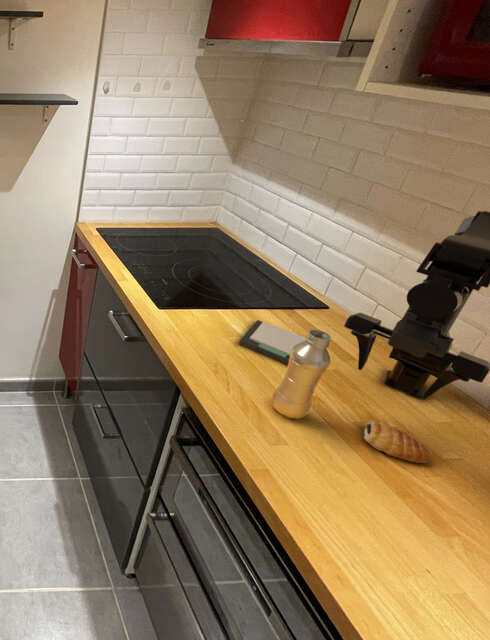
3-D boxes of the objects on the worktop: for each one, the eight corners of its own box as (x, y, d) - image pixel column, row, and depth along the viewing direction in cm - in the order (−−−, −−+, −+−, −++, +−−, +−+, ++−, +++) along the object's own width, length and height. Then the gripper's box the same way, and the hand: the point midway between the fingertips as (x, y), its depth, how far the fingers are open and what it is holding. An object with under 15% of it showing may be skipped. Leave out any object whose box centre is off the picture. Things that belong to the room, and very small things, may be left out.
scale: (256, 323, 125) (258, 317, 124) (316, 347, 116) (319, 341, 115) (238, 344, 116) (240, 338, 115) (302, 371, 107) (305, 365, 106)
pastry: (423, 449, 87) (432, 435, 85) (428, 473, 82) (438, 459, 81) (361, 425, 92) (369, 411, 91) (363, 446, 87) (370, 432, 86)
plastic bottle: (313, 419, 94) (349, 341, 85) (289, 425, 92) (323, 347, 83) (285, 397, 99) (316, 322, 91) (261, 403, 97) (291, 327, 89)
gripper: (355, 289, 81) (318, 363, 86) (507, 343, 67) (453, 427, 72) (371, 285, 88) (335, 353, 92) (512, 334, 74) (462, 411, 78)
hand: (390, 383), depth 83 cm, fingers open, 9 cm apart
